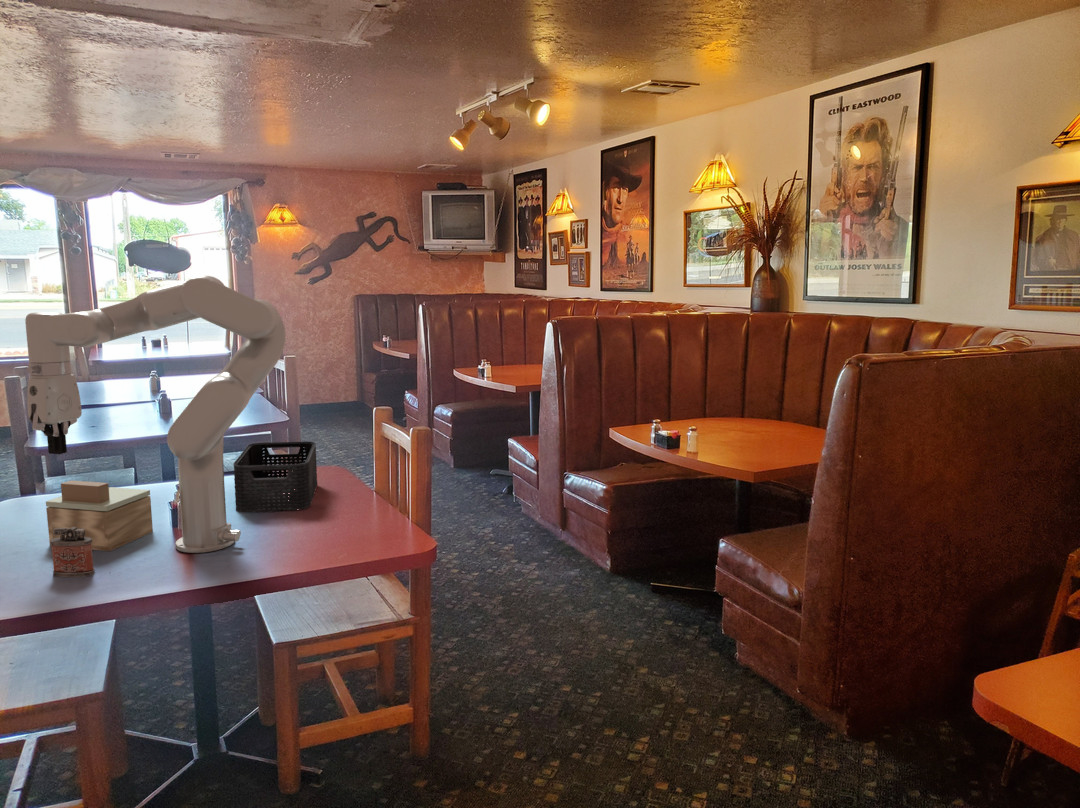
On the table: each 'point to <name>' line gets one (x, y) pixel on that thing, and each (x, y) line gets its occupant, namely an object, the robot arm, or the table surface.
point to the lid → (94, 496)
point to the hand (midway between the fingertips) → (57, 453)
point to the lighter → (72, 553)
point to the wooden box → (105, 523)
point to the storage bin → (275, 477)
